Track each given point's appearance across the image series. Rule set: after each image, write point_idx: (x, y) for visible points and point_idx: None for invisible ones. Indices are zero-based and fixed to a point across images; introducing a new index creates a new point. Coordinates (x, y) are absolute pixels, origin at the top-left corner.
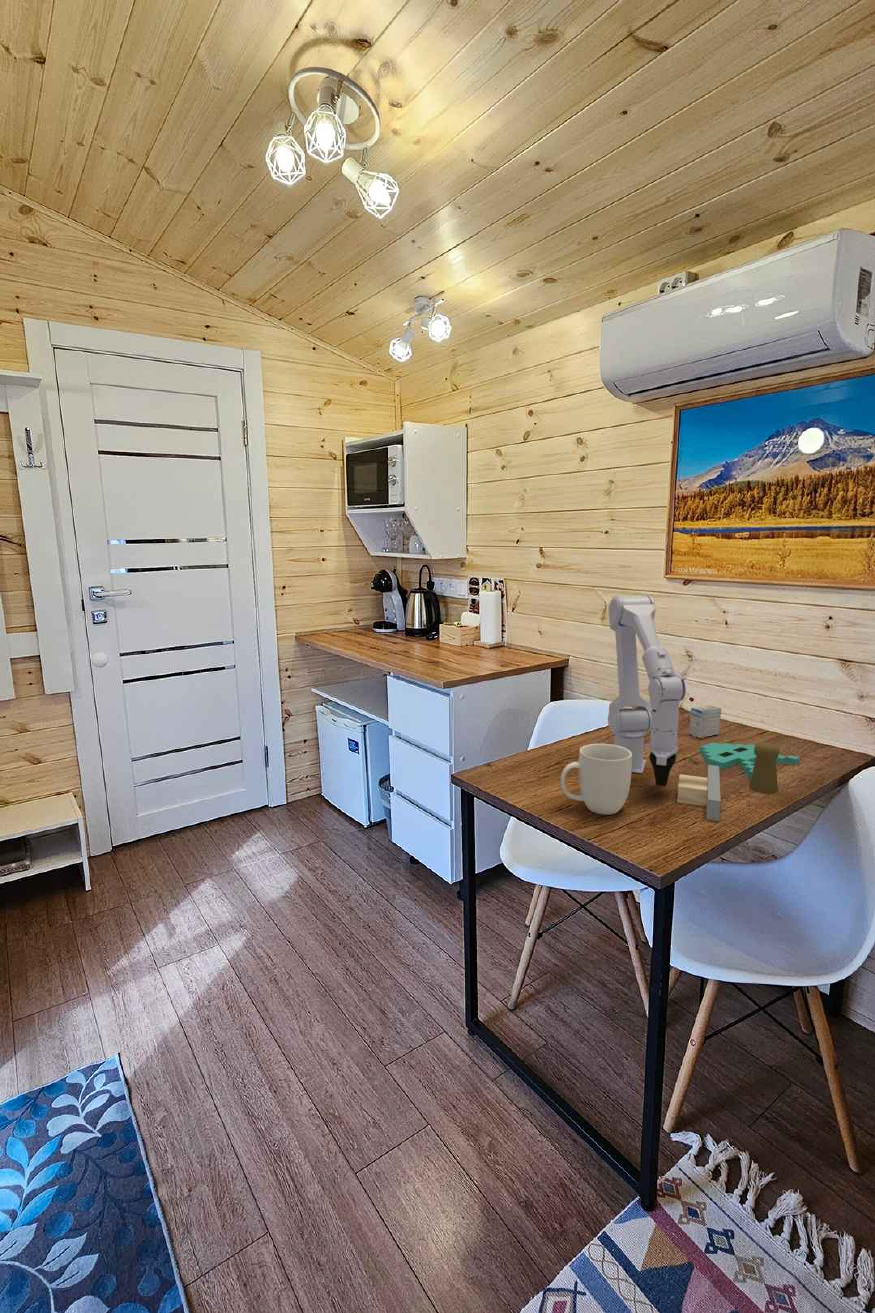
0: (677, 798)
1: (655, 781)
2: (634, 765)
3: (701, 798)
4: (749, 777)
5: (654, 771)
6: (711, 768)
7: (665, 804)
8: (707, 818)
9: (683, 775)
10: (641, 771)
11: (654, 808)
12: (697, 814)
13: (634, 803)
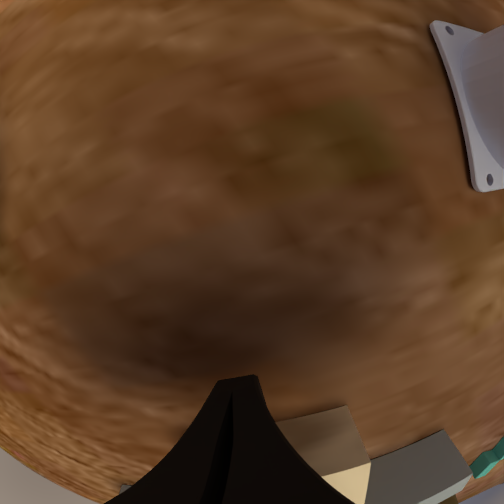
0: None
1: (211, 392)
2: (500, 141)
3: None
4: (480, 456)
5: (169, 452)
6: (438, 496)
7: (128, 402)
8: (122, 488)
9: (358, 475)
10: (481, 186)
11: (62, 369)
12: (136, 473)
13: (42, 286)
